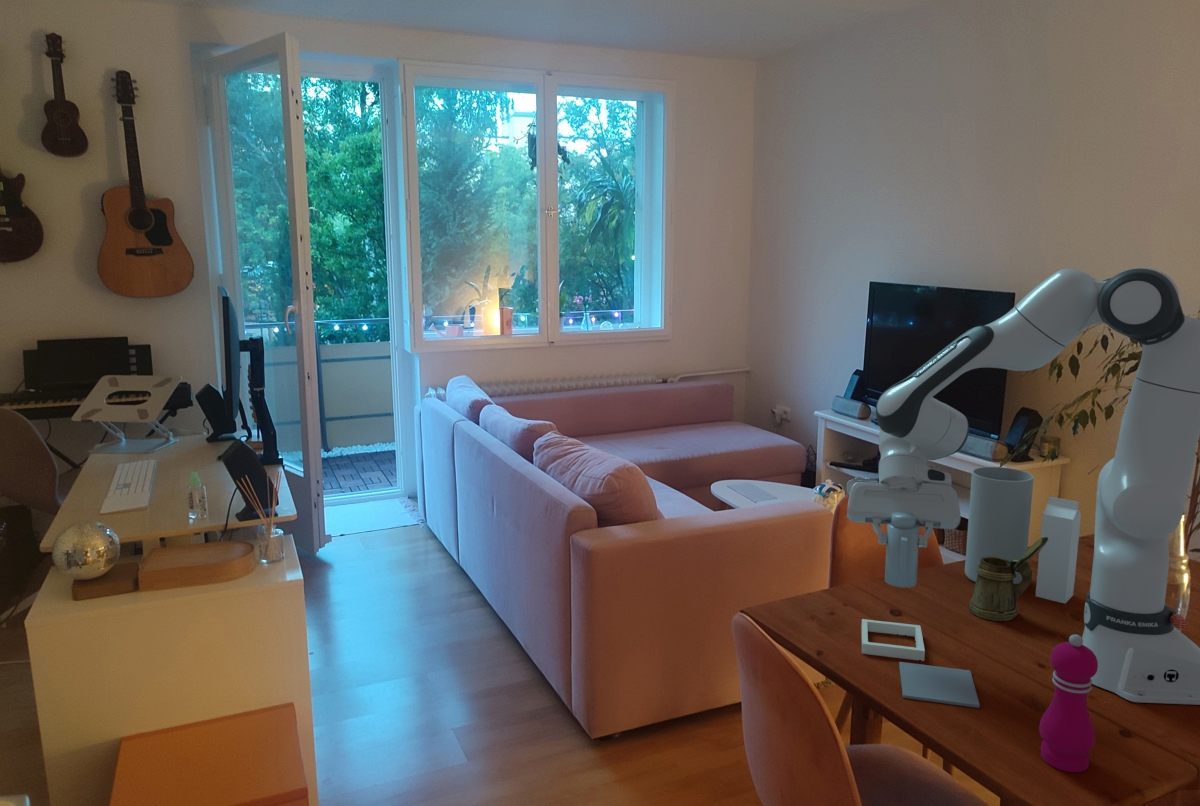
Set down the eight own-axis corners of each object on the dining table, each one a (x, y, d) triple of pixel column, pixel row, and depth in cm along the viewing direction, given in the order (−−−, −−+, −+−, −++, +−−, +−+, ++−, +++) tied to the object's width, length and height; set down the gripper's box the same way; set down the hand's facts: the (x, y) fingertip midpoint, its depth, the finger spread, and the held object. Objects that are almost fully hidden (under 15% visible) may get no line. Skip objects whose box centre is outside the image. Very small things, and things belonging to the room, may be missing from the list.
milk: (1043, 588, 185) (1052, 493, 182) (1073, 595, 181) (1083, 498, 178) (1034, 596, 181) (1043, 499, 177) (1065, 604, 177) (1074, 504, 173)
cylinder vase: (984, 564, 200) (992, 464, 195) (1035, 581, 189) (1045, 475, 185) (953, 576, 193) (960, 472, 188) (1004, 594, 183) (1013, 484, 178)
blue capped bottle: (915, 577, 158) (918, 511, 156) (918, 594, 150) (921, 525, 148) (884, 574, 160) (887, 509, 157) (885, 591, 152) (888, 523, 150)
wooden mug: (1039, 630, 165) (1047, 544, 162) (966, 615, 172) (972, 533, 169) (1042, 613, 173) (1049, 530, 170) (971, 600, 180) (977, 520, 176)
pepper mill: (1064, 779, 119) (1077, 649, 116) (1025, 750, 126) (1036, 627, 122) (1104, 769, 121) (1118, 642, 117) (1064, 742, 128) (1076, 621, 124)
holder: (919, 634, 164) (920, 625, 163) (924, 661, 153) (924, 651, 153) (861, 628, 167) (861, 619, 167) (862, 653, 157) (862, 643, 156)
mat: (970, 673, 149) (970, 670, 149) (979, 708, 138) (979, 705, 138) (899, 664, 152) (899, 661, 152) (902, 697, 141) (903, 694, 141)
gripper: (846, 468, 162) (844, 532, 155) (960, 474, 156) (963, 541, 149) (846, 484, 167) (844, 547, 160) (956, 491, 161) (959, 556, 154)
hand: (902, 544), depth 154 cm, fingers closed on blue capped bottle, 6 cm apart
